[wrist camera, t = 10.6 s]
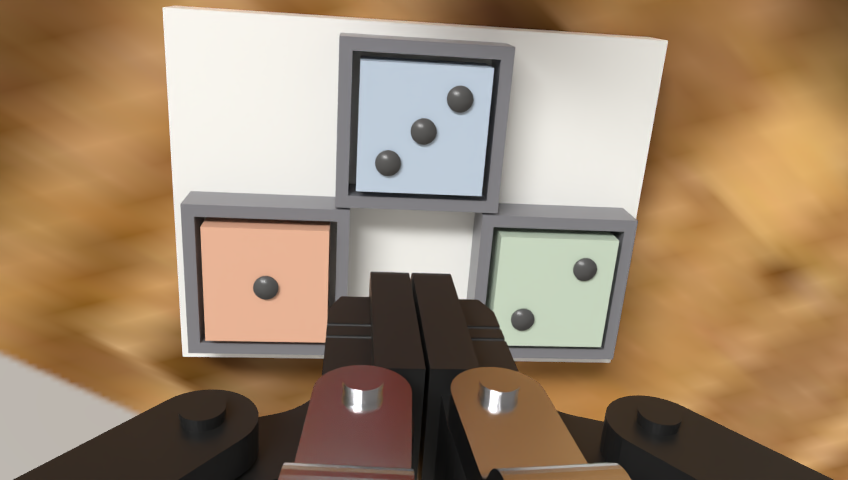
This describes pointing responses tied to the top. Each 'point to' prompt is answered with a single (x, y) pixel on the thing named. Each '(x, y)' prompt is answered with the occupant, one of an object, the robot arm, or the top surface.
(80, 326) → the top surface
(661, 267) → the top surface
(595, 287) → the button two
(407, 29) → the button panel
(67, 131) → the top surface
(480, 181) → the button three
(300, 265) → the button one
